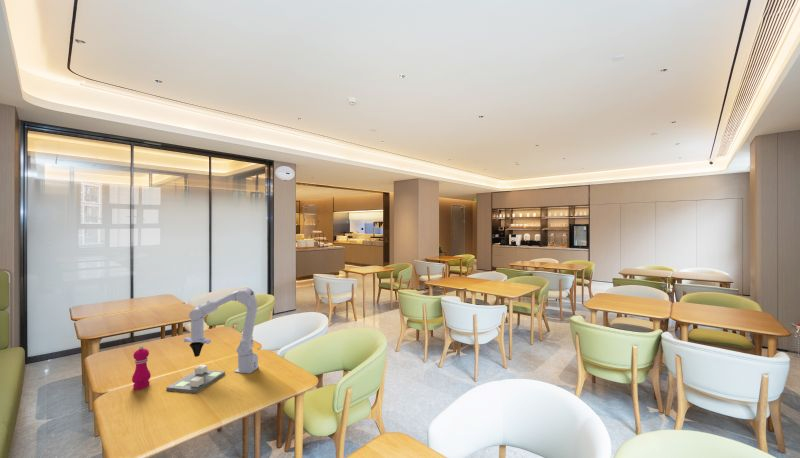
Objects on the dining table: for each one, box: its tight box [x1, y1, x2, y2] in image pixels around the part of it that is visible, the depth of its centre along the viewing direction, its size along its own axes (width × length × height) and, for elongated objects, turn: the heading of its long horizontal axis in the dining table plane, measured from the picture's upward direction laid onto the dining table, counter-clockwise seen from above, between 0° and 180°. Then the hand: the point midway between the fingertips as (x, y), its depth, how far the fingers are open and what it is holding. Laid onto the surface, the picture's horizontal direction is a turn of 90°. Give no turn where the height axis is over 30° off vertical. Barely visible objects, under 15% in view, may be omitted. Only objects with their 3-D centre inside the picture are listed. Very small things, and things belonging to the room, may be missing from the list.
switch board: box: [166, 369, 226, 394], centre depth 168 cm, size 16×20×2 cm
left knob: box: [190, 376, 204, 387], centre depth 162 cm, size 4×4×3 cm
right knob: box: [194, 364, 208, 375], centre depth 175 cm, size 4×4×3 cm
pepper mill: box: [131, 345, 151, 391], centre depth 163 cm, size 7×7×20 cm
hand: (197, 355), depth 178 cm, fingers closed
